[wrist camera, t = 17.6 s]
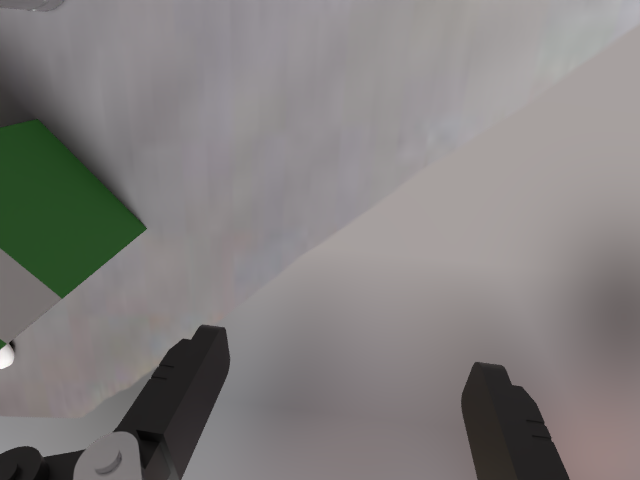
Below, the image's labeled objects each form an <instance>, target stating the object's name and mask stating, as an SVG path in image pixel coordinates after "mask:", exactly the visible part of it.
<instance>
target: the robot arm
mask: <svg viewBox="0 0 640 480" xmlns="http://www.w3.org/2000/svg"><path fill="white" fill-rule="evenodd" d="M63 1H64V0H0V8H10V9H22V10H28V11H32V10H33V11H49V10H53V9H55V8H57V7H58V6H60V5H61V4H62V2H63ZM229 365H230V355H229V348H228V341H227V334H226V329H225V328H224V327H217V326H210V325H201V326H200V327H199V328H198V329H197V331H196V333H195V334H194V336H193V337H192V339H191V340H189V339H182V340H181V341H179V342H178V343H177V344H176V345H175V346H173V347H172V348H171V349H170V350H169V351H168V352H167V354H166V355H165V357H164V358H163V360H162V361H161V363H160V364H159V367H157V369H156V370H155V372H154V373H153V375H152V377H151V379H149V381H148V382H147V384H146V385H145V387H144V388H143V390H142V391H141V393H140V394H139V396H138V397H137V399H136V400H135V402H134V403H133V405H132V406H131V408H130V409H129V411H128V412H127V414H126V415H125V416H124V418H123V419H122V421H121V422H120V424H119V425H118V427H117V428H116V429H115V430H114V431H113V432H112V433H110V434H107V435H105V436H103V437H101V438H99V439H97V440H96V441H95V442H93V443H92V444H91V445H90V446H89V447H88V448H87V449H85V450H80V451H76V452H71V453H64V454H59V455H53V456H47V457H42V455H41V454H40V453H39V451H38V450H37V449H35V448H33V447H29V446H27V447H26V446H24V447H17V448H14V449H11V450H8V451H6V452H4V453H2V454H0V480H181V479H182V477H183V474H184V472H185V470H186V468H187V465H188V463H189V461H190V458H191V456H192V454H193V452H194V449H195V447H196V445H197V443H198V440H199V438H200V436H201V434H202V431H203V429H204V427H205V424H206V422H207V420H208V418H209V415H210V413H211V411H212V409H213V407H214V404H215V402H216V400H217V397H218V395H219V393H220V391H221V388H222V386H223V384H224V382H225V379H226V377H227V374H228V371H229ZM461 407H462V414H463V418H464V423H465V427H466V431H467V436H468V440H469V444H470V449H471V453H472V457H473V462H474V465H475V470H476V474H477V479H478V480H570V479H569V477H568V474H567V472H566V470H565V468H564V465H563V463H562V461H561V458H560V456H559V454H558V452H557V449H556V447H555V445H554V443H553V442H552V441H551V436H550V434H549V431H548V429H547V427H546V426H545V425H544V420H543V418H542V415H541V413H540V411H539V409H538V406H537V404H536V403H535V402H534V400H533V399H532V398H531V397H530V396H529V394H528V393H527V392H526V391H525V390H524V389H523V387H521V386H514V385H512V384H511V381H510V379H509V376H508V374H507V371H506V369H505V368H504V367H503V366H502V365H496V364H489V363H480V362H475V363H474V365H473V367H472V369H471V372H470V375H469V377H468V380H467V382H466V385H465V387H464V390H463V393H462V399H461Z"/></svg>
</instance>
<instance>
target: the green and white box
mask: <svg viewBox="0 0 640 480" xmlns="http://www.w3.org/2000/svg"><path fill="white" fill-rule="evenodd" d="M146 229H147V228H146V227H145V226H144V225H143V224H142V223H141V222H140V221H139V220H138V219H137V218H136V217H135V216H134V215H133V214H132V213H131V212H130V211H129V210H128V209H127V208H126V207H125V206H124V205H123V204H122V203H121V202H120V201H119V200H118V199H117V198H116V197H115V196H114V195H113V194H112V193H111V192H110V191H109V190H108V189H107V188H106V187H105V186H104V185H103V184H102V183H101V182H100V181H99V180H98V179H97V178H96V177H95V176H94V175H93V174H92V173H91V172H90V171H89V170H88V169H87V168H86V167H85V166H84V165H83V164H82V163H81V162H80V161H79V160H78V159H77V158H76V157H75V156H74V155H73V154H72V153H71V152H70V151H69V150H68V149H67V148H66V147H65V146H64V145H63V144H62V143H61V142H60V141H59V140H58V139H57V138H56V137H55V136H54V135H53V134H52V133H51V132H50V131H49V130H48V129H47V128H46V127H45V126H44V125H43V124H42V123H41V122H40V121H39V120H38V119H36V120H31V121H27V122H23V123H18V124H14V125H10V126H6V127H1V128H0V350H1V349H2V348H3V347H4V346H6V345H7V344H8V343H9V342H10V341H12V340H13V339H14V338H15V337H16V336H18V335H19V334H20V333H21V332H22V331H24V330H25V329H26V328H27V327H29V326H30V325H31V324H32V323H33V322H35V321H36V320H37V319H38V318H39V317H41V316H42V315H43V314H44V313H46V312H47V311H48V310H49V309H50V308H52V307H53V306H54V305H55V304H56V303H58V302H59V301H60V300H61V299H63V298H64V297H65V296H66V295H67V294H69V293H70V292H71V291H72V290H73V289H75V288H76V287H77V286H78V285H79V284H81V283H82V282H83V281H84V280H86V279H87V278H88V277H89V276H90V275H92V274H93V273H94V272H95V271H96V270H98V269H99V268H100V267H101V266H103V265H104V264H105V263H106V262H107V261H109V260H110V259H111V258H112V257H113V256H115V255H116V254H117V253H118V252H119V251H121V250H122V249H123V248H124V247H126V246H127V245H128V244H129V243H130V242H132V241H133V240H134V239H135V238H136V237H138V236H139V235H140V234H141V233H143V232H144V231H145V230H146Z"/></svg>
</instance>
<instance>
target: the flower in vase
mask: <svg viewBox="0 0 640 480" xmlns="http://www.w3.org/2000/svg"><path fill="white" fill-rule="evenodd" d="M13 360H14V351H13V349H12V347H11V346H10V344H9V343H8V344H7V345H6V346H4V347H3V348H2V349H1V350H0V369H3V368H5V367H7V366H9V365H11V364H12V363H13Z"/></svg>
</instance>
